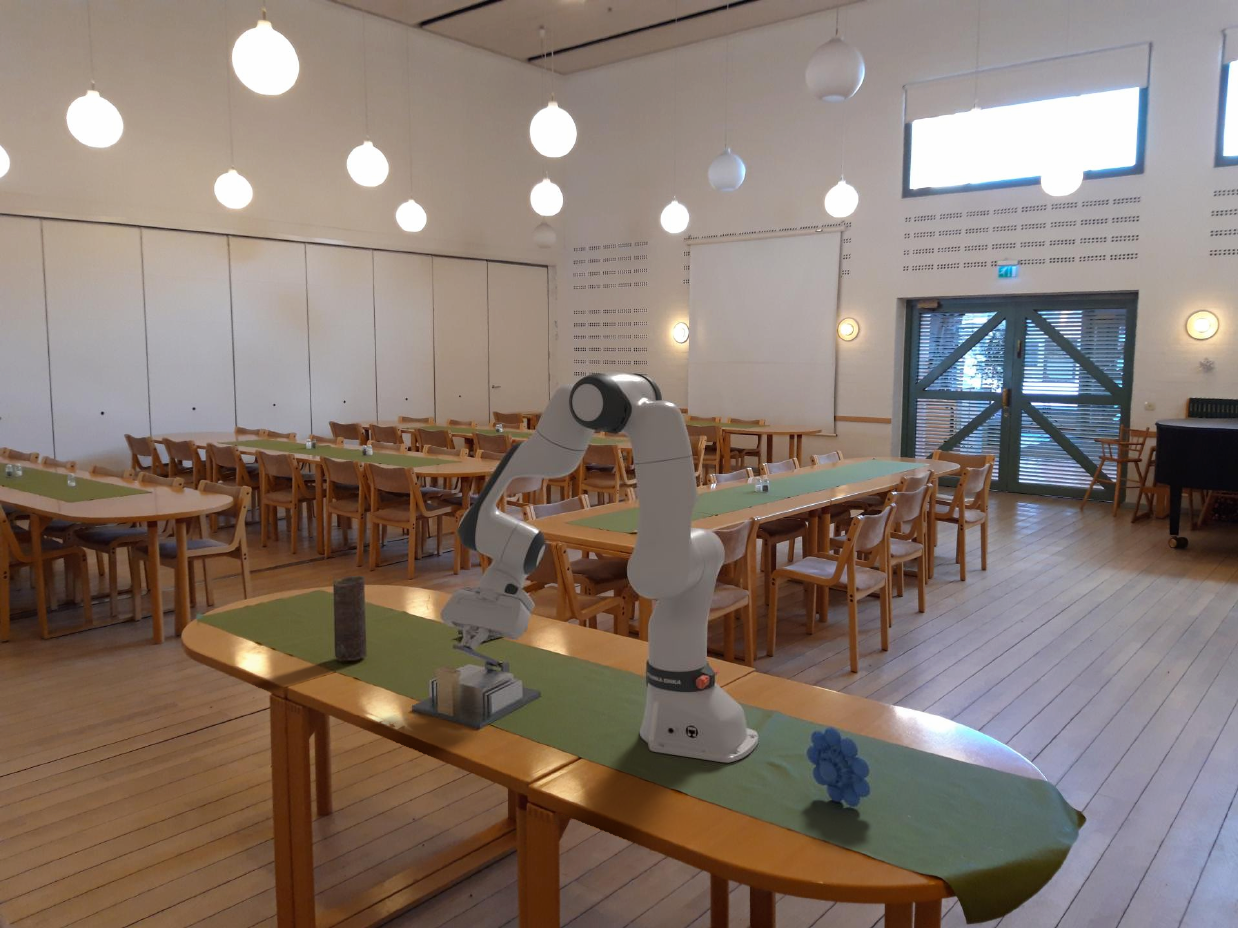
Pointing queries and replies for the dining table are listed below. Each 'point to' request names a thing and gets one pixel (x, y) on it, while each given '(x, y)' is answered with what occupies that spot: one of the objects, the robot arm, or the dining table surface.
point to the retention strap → (478, 655)
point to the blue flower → (838, 766)
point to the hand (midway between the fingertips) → (466, 648)
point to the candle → (349, 618)
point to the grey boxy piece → (474, 695)
